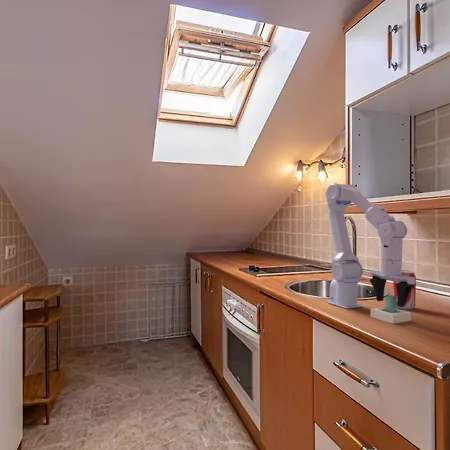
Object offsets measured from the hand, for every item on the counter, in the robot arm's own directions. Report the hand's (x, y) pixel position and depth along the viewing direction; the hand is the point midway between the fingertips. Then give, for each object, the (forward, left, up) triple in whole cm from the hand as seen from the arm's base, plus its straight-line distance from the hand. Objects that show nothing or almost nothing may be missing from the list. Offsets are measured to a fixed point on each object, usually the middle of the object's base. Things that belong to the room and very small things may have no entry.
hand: (390, 303), depth 105 cm
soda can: (-8, +17, -5) cm, 19 cm away
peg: (0, 0, -5) cm, 5 cm away
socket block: (0, 0, -5) cm, 5 cm away
